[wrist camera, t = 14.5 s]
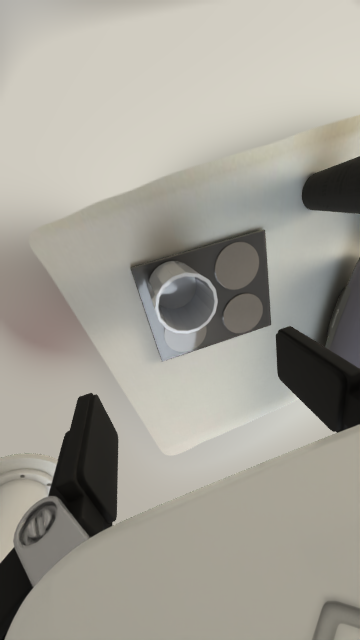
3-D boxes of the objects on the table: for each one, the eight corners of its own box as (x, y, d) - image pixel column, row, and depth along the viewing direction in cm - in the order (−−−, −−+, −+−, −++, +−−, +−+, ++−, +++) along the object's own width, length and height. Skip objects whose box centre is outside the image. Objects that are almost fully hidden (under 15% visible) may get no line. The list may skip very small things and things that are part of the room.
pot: (156, 315, 34) (164, 341, 27) (141, 269, 31) (146, 284, 23) (201, 301, 35) (221, 322, 27) (191, 254, 31) (211, 264, 24)
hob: (161, 358, 39) (162, 362, 37) (130, 267, 31) (130, 269, 30) (268, 322, 40) (272, 325, 39) (261, 229, 33) (266, 229, 32)
